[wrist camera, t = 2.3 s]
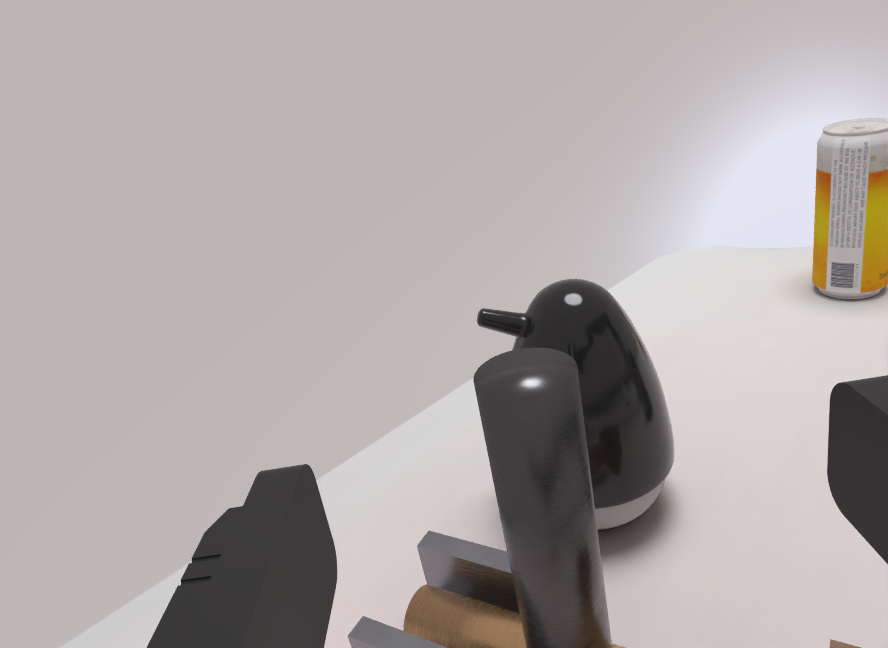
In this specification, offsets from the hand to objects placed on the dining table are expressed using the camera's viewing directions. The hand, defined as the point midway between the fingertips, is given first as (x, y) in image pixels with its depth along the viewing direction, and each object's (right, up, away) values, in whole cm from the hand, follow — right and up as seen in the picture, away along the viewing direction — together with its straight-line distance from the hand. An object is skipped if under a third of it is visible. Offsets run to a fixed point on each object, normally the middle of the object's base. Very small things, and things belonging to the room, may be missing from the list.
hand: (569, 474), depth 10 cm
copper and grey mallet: (+4, -15, +20) cm, 26 cm away
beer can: (+36, +6, +52) cm, 64 cm away
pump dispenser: (+8, -9, +33) cm, 35 cm away
